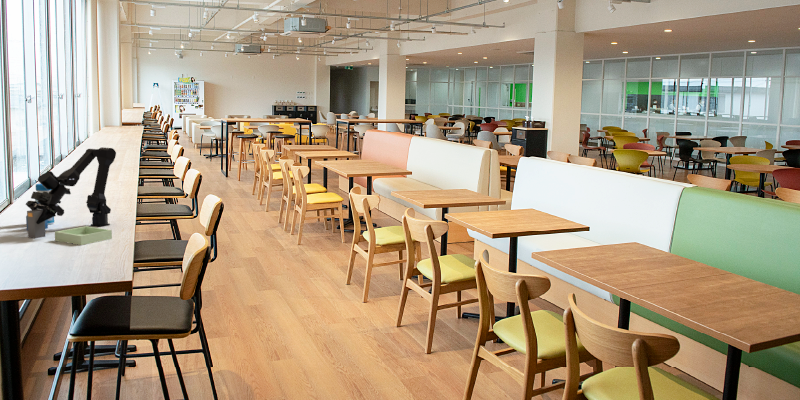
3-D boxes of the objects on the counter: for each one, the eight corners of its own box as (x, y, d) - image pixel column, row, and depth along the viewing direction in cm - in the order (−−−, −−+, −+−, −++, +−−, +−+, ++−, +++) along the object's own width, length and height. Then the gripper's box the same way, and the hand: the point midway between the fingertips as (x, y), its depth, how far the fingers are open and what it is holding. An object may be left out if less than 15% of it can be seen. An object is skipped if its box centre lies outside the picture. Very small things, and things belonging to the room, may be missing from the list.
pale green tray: (86, 234, 279) (86, 226, 278) (111, 238, 273) (111, 230, 272) (55, 240, 264) (54, 231, 263) (81, 245, 258) (80, 236, 257)
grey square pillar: (38, 235, 273) (37, 209, 271) (45, 236, 271) (44, 210, 270) (27, 237, 268) (26, 211, 266) (34, 238, 266) (33, 212, 265)
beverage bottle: (45, 225, 294) (44, 185, 291) (31, 224, 296) (29, 184, 293) (58, 222, 302) (57, 183, 299) (44, 221, 304) (42, 182, 301)
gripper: (28, 183, 274) (6, 210, 265) (57, 186, 267) (35, 214, 258) (45, 198, 282) (23, 224, 273) (73, 201, 275) (52, 229, 266)
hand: (33, 223), depth 268 cm, fingers closed on grey square pillar, 4 cm apart
